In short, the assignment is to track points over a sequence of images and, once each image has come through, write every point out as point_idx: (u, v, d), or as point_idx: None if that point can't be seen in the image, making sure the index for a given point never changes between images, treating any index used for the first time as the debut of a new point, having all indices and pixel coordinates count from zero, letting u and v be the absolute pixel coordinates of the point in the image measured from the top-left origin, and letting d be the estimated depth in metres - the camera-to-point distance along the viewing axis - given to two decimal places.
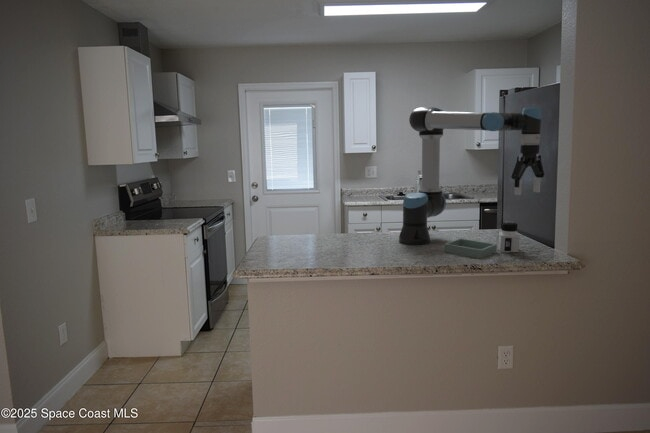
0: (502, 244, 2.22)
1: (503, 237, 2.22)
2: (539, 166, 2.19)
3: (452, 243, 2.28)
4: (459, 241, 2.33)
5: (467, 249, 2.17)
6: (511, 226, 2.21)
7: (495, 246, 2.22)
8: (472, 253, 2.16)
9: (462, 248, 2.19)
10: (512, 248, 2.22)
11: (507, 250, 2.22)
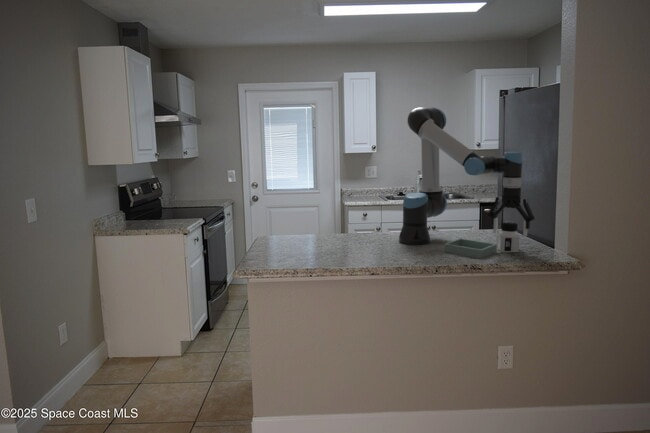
0: (502, 244, 2.22)
1: (503, 237, 2.22)
2: None
3: (452, 243, 2.28)
4: (459, 241, 2.33)
5: (467, 249, 2.17)
6: (511, 226, 2.21)
7: (495, 246, 2.22)
8: (472, 253, 2.16)
9: (462, 248, 2.19)
10: (512, 248, 2.22)
11: (507, 250, 2.22)
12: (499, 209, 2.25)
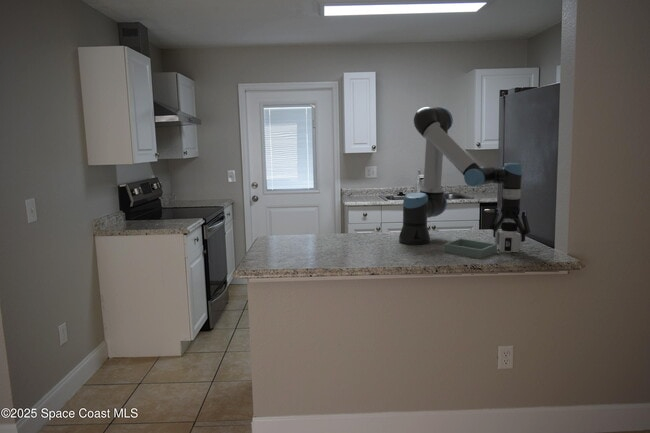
0: (502, 244, 2.22)
1: (503, 237, 2.22)
2: None
3: (452, 243, 2.28)
4: (459, 241, 2.33)
5: (467, 249, 2.17)
6: (511, 226, 2.21)
7: (495, 246, 2.22)
8: (472, 253, 2.16)
9: (462, 248, 2.19)
10: (512, 248, 2.22)
11: (507, 250, 2.22)
12: (499, 221, 2.25)
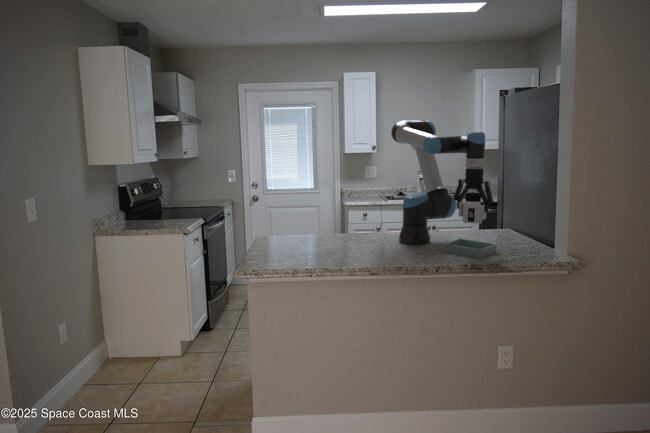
0: (465, 215, 2.19)
1: (466, 207, 2.18)
2: None
3: (452, 243, 2.28)
4: (459, 241, 2.33)
5: (467, 249, 2.17)
6: (474, 196, 2.17)
7: (495, 246, 2.22)
8: (472, 253, 2.16)
9: (462, 248, 2.19)
10: (475, 218, 2.18)
11: (470, 221, 2.19)
12: (463, 191, 2.22)
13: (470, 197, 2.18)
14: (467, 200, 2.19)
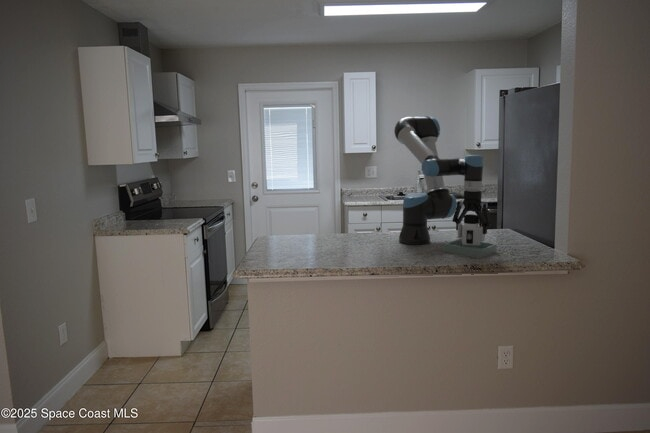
0: (464, 237, 2.20)
1: (465, 229, 2.19)
2: None
3: (452, 243, 2.28)
4: (459, 241, 2.33)
5: (467, 249, 2.17)
6: (472, 218, 2.19)
7: (495, 246, 2.22)
8: (472, 253, 2.16)
9: (462, 248, 2.19)
10: (474, 240, 2.19)
11: (469, 243, 2.20)
12: (462, 213, 2.23)
13: (468, 219, 2.19)
14: (465, 222, 2.21)
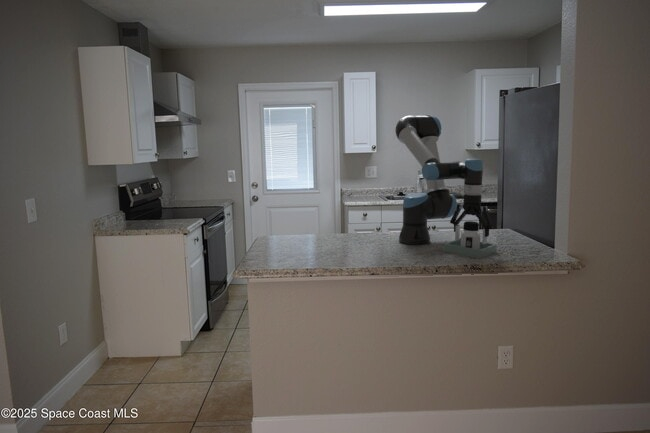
0: (463, 243, 2.21)
1: (464, 236, 2.20)
2: None
3: (452, 243, 2.28)
4: (459, 241, 2.33)
5: (467, 249, 2.17)
6: (472, 225, 2.19)
7: (495, 246, 2.22)
8: (472, 253, 2.16)
9: (462, 248, 2.19)
10: (473, 247, 2.20)
11: None
12: (460, 216, 2.24)
13: (468, 226, 2.20)
14: (465, 229, 2.21)
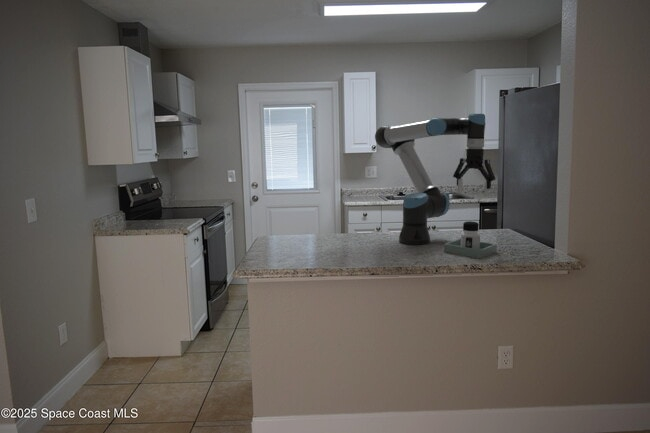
0: (463, 244, 2.21)
1: (464, 237, 2.20)
2: None
3: (452, 243, 2.28)
4: (459, 241, 2.33)
5: (467, 249, 2.17)
6: (472, 226, 2.19)
7: (495, 246, 2.22)
8: (472, 253, 2.16)
9: (462, 248, 2.19)
10: None
11: None
12: (463, 170, 2.32)
13: (468, 226, 2.20)
14: (465, 229, 2.21)
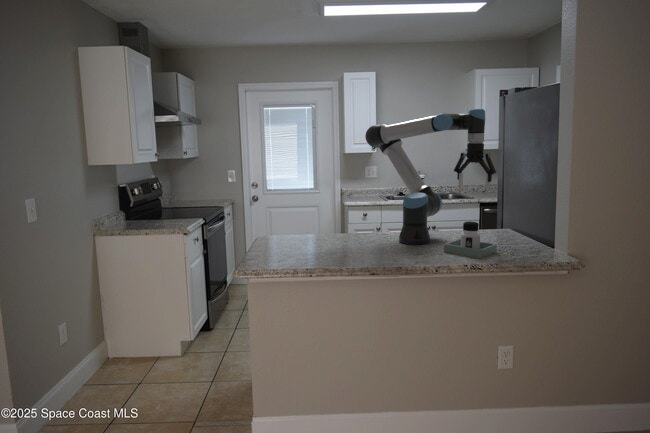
0: (463, 244, 2.21)
1: (464, 237, 2.20)
2: None
3: (452, 243, 2.28)
4: (459, 241, 2.33)
5: (467, 249, 2.17)
6: (472, 226, 2.19)
7: (495, 246, 2.22)
8: (472, 253, 2.16)
9: (462, 248, 2.19)
10: None
11: None
12: (464, 164, 2.38)
13: (468, 226, 2.20)
14: (465, 229, 2.21)
